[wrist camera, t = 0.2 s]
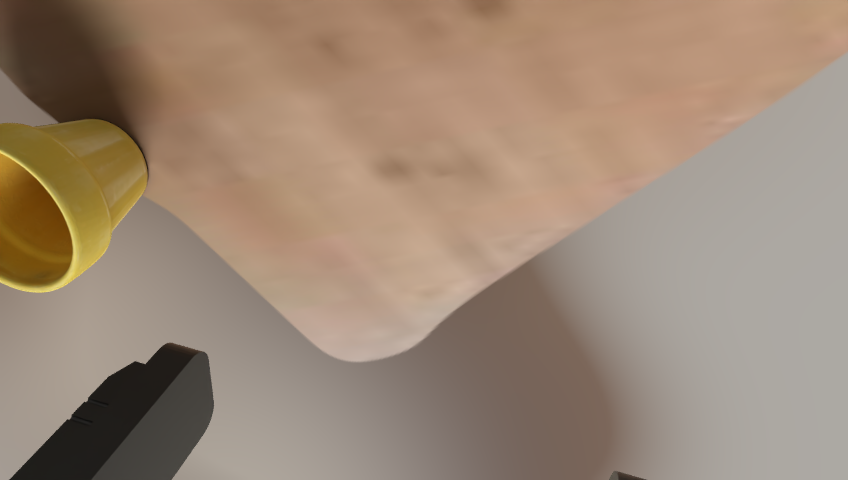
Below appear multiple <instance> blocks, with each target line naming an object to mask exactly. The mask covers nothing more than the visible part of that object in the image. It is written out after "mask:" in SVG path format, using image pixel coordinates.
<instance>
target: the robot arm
mask: <svg viewBox="0 0 848 480" xmlns="http://www.w3.org/2000/svg"><path fill="white" fill-rule="evenodd" d="M213 408H214V400H213V392H212V384H211V376H210V367H209V359H208V356H207V354H206V353H205V352H202V351H198V350H195V349H191V348H188V347H185V346H181V345H177V344H174V343H167V344H165V345H163V346H162V347H161V348H160V349H159V350H158V351H157V352H156V353H155V354H154V355H153V356H152V358H151V359H150V360H149V361H148V362H147V363H146V364H142V363H139V362H136V361H135V362H133V363H131V364H130V365H128V366H126V367H125V368H123V369H121V370H119V371H118V372H116V373H114V374H112V375H111V376H109V377H108V378H107V379H106V380H105V381H104V382H103V383H102V384H101V385H100V386H99V387H98V388H97V389H96V390H95V391H94V392H93V393H92V394H91V395H90V397H89V398H88V401H87V402H84V403H83V404H82V405H81V406H80V407H79V408H78V409H77V410H76V411H75V412H74V413H73V414H72V417H71V419H70V420H66V422H64V423H63V425H62V426H61V427H60V428H59V429H58V430H57V431H56V432H55V433H54V434H53V435H52V436H51V437H50V438H49V439H48V440H47V441H46V442H45V443H44V444H43V445H42V446H41V448H39V449H38V451H37V452H36V453H35V454H34V455H33V456H32V457H31V458H30V459H29V460H28V461H27V462H26V463H25V464H24V465H23V466H22V467H21V469H19V470H18V471H17V472H16V474H14V476H13V477H12V478H11V479H10V480H172V478H173V477H174V475H175V474H176V473H177V471H178V470H179V468H180V467H181V465H182V464H183V463H184V461H185V460H186V458H187V457H188V455H189V454H190V453H191V451H192V450H193V448H194V447H195V446H196V444H197V443H198V441H199V440H200V438H201V437H202V436H203V434H204V433H205V431H206V429H207V427H208V425H209V423H210V420H211V417H212V413H213ZM609 480H646V479H642V478H639V477H635V476H632V475H628V474H624V473H621V472H618V471H614V472H613V473H612V475H611V477H610V479H609Z"/></svg>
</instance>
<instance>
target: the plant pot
mask: <svg viewBox="0 0 848 480" xmlns="http://www.w3.org/2000/svg"><path fill="white" fill-rule="evenodd" d="M147 180H148V172H147V166H146V162H145V159H144V157H143V155H142V153H141V151H140V149H139V148H138V146H137V145H136V143H135V142H134V141H133V140H132V139H131V138H130V136H128V135H127V134H126V133H125V132H124V131H123V130H121V129H120V128H119V127H117V126H115V125H113V124H111V123H109V122H107V121H103V120H99V119H84V120H77V121H71V122H64V123H58V124H51V125H43V126H36V127H31V126H28V125H24V124H18V123H2V124H0V282H1V283H3V284H5V285H7V286H10V287H12V288H15V289H19V290H22V291H28V292H39V293H40V292H49V291H53V290H56V289H59V288H61V287H63V286H65V285H67V284H68V283H69V282H71V281H72V280H73V279H75V278H76V277H78V276H79V275H80V274H82V273H83V272H84V271H85V270H87V269H88V268H89V267H90V266H92V265H93V264H94V263H95V262H96V261H97V260H98V259H99V258H100V257H101V256H102V255H103V254H104V253H105V251H106V250H107V248H108V245H109V242H110V239H111V235H112V231H113V230H114V228H115V227H116V226H117V225H118V224H119V222H120V221H121V220H122V219H123V217H124V216H125V215H126V214H127V213H128V211H129V210H130V209H131V208H132V207H133V205H134V204H135V203H136V202H137V200H138V199H139V198H140V197H141V196H142V194H143V193H144V191H145V188H146V185H147Z"/></svg>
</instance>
